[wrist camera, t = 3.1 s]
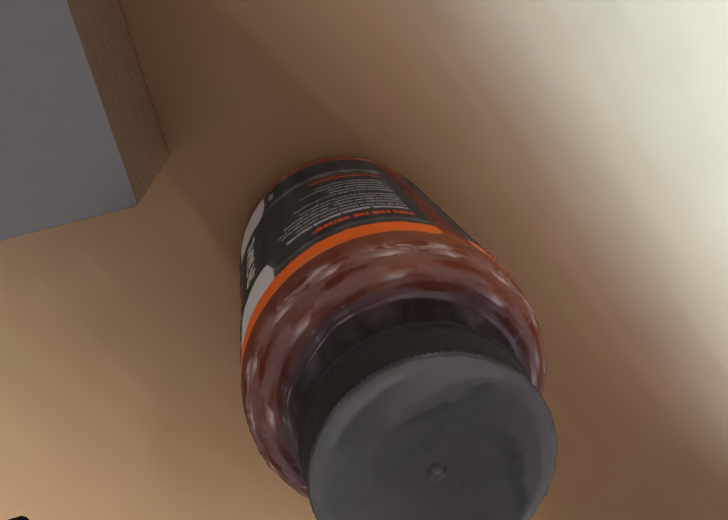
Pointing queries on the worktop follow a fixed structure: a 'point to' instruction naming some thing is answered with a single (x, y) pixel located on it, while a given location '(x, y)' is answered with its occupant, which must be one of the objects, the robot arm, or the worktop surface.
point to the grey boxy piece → (71, 115)
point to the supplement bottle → (388, 354)
